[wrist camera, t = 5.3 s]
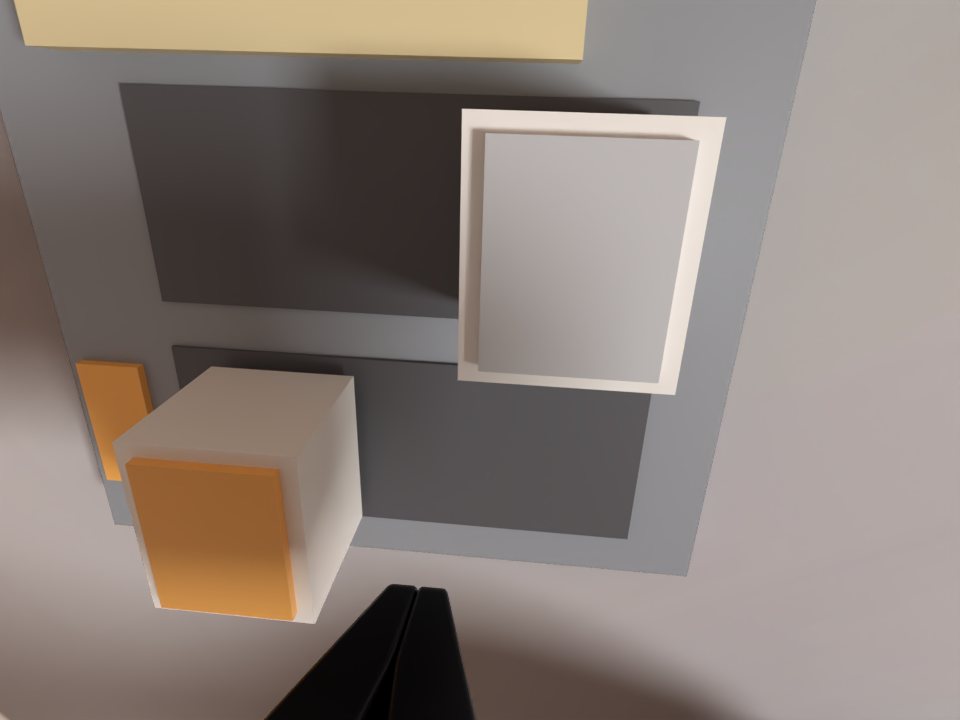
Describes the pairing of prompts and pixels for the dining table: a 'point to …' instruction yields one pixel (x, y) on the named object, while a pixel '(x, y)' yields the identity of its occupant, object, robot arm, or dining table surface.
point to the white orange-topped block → (245, 492)
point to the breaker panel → (383, 236)
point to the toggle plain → (581, 245)
